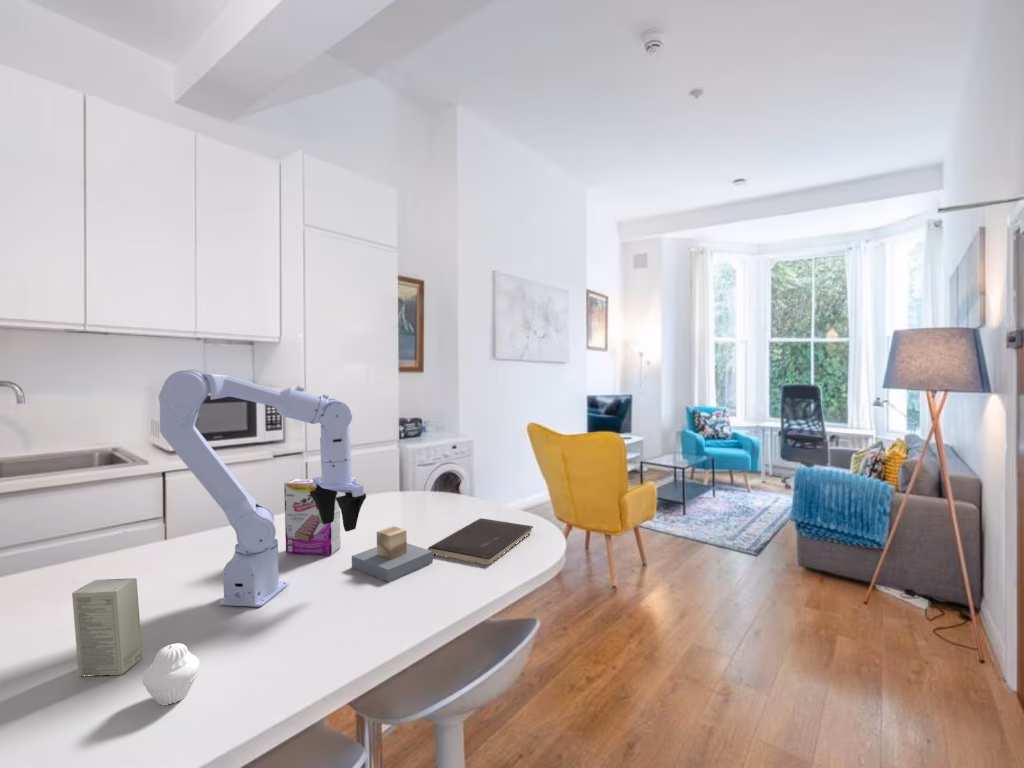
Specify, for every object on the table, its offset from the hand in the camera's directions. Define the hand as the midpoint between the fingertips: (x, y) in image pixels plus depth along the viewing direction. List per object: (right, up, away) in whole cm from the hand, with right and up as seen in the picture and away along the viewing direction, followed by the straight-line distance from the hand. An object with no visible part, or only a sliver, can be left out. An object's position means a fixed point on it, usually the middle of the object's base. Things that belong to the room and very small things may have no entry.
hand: (338, 526), depth 101 cm
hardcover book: (+28, -10, +19) cm, 36 cm away
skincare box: (-23, -12, -29) cm, 39 cm away
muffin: (-9, -12, -36) cm, 39 cm away
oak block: (+9, -8, +6) cm, 13 cm away
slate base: (+9, -10, +6) cm, 15 cm away
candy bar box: (-11, -10, +15) cm, 21 cm away
